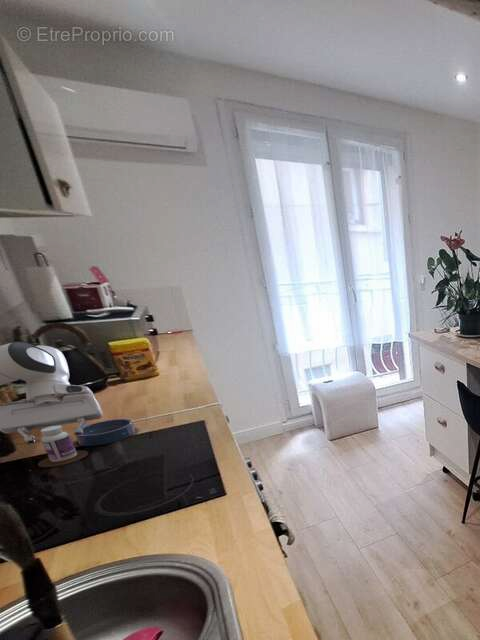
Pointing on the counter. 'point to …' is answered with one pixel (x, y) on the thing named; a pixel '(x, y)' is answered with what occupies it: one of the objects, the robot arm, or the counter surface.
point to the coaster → (49, 463)
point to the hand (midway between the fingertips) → (54, 438)
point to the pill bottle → (57, 444)
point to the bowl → (106, 432)
